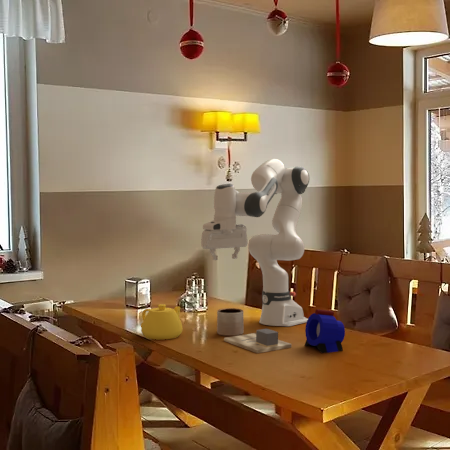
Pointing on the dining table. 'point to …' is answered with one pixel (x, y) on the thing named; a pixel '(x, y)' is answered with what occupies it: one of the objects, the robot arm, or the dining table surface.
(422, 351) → the dining table surface
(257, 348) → the board
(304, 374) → the dining table surface
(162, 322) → the teapot
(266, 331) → the block
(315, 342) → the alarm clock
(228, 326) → the planter
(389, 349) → the dining table surface
